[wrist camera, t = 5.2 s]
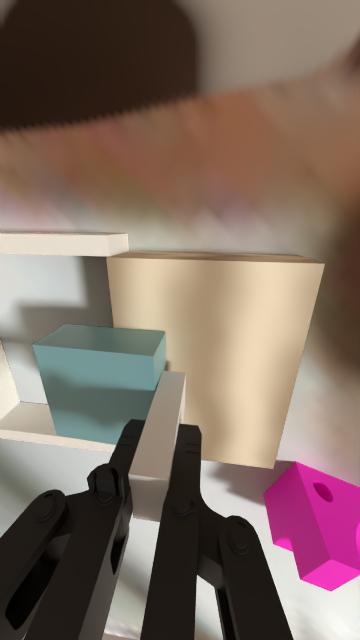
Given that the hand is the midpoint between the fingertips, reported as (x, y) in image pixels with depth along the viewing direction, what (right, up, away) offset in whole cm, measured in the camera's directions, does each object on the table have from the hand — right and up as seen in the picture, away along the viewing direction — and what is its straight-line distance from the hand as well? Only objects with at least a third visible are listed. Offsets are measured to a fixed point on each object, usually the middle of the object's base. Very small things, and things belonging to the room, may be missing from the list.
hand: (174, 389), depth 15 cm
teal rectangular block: (-4, +1, +2) cm, 4 cm away
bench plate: (+2, +2, +5) cm, 6 cm away
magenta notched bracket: (+18, -15, +10) cm, 25 cm away
